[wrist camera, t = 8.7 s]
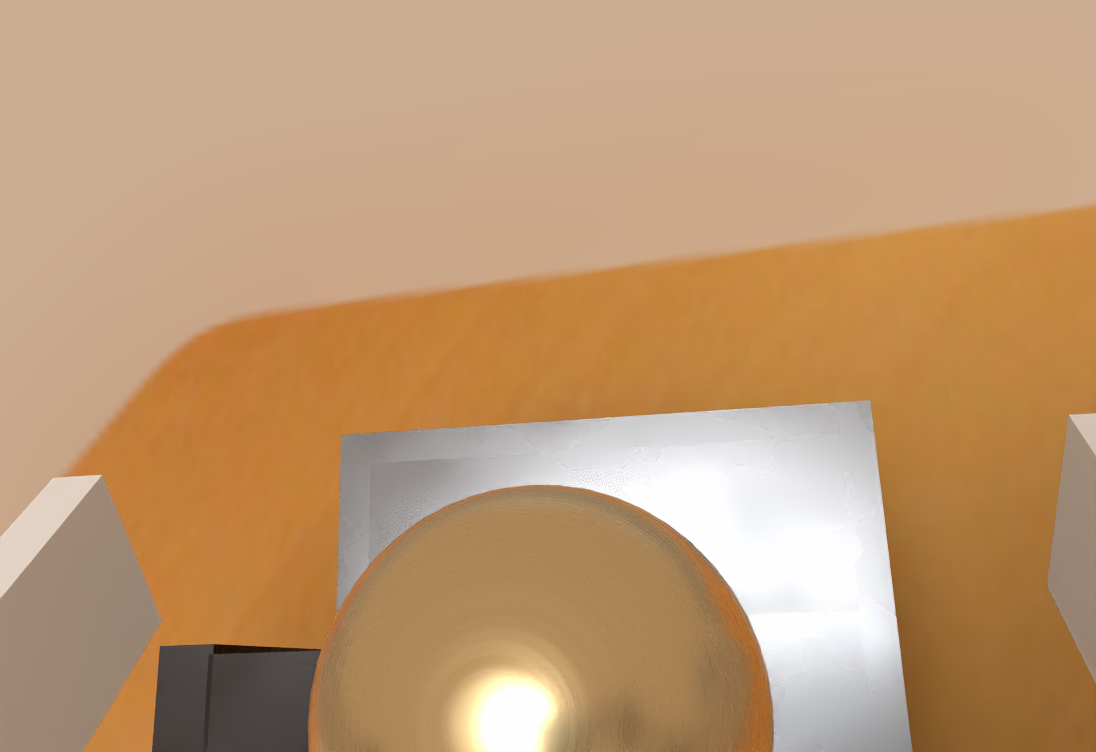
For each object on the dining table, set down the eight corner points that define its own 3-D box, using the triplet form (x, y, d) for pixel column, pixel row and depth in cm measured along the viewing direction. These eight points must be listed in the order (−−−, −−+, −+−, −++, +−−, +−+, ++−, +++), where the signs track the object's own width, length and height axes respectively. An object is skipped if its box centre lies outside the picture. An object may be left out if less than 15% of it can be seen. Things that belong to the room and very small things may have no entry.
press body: (807, 512, 32) (869, 400, 19) (842, 863, 29) (945, 1028, 16) (356, 535, 34) (123, 449, 21) (348, 864, 31) (73, 1010, 18)
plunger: (780, 540, 30) (913, 256, 9) (807, 834, 28) (1059, 1313, 7) (513, 552, 31) (108, 324, 11) (519, 836, 29) (20, 1252, 8)
